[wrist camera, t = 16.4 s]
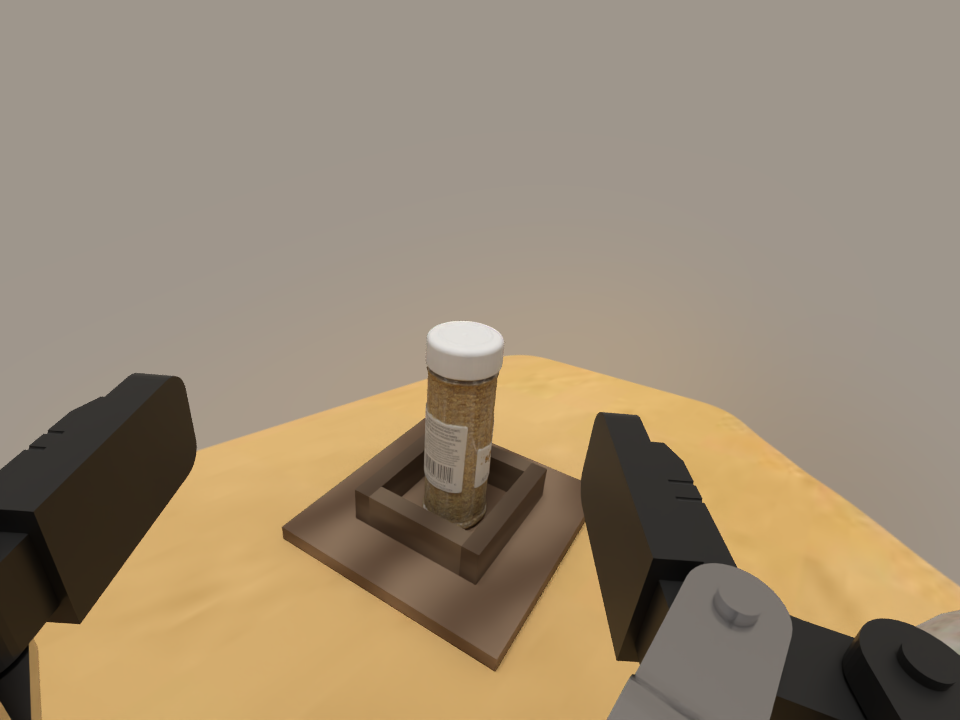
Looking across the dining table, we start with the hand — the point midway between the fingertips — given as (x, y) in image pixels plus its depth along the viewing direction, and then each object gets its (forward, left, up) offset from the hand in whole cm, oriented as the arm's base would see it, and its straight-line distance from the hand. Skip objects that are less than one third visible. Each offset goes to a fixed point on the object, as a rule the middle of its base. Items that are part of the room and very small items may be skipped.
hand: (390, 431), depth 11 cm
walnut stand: (-9, +17, -21) cm, 29 cm away
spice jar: (-9, +17, -21) cm, 28 cm away
